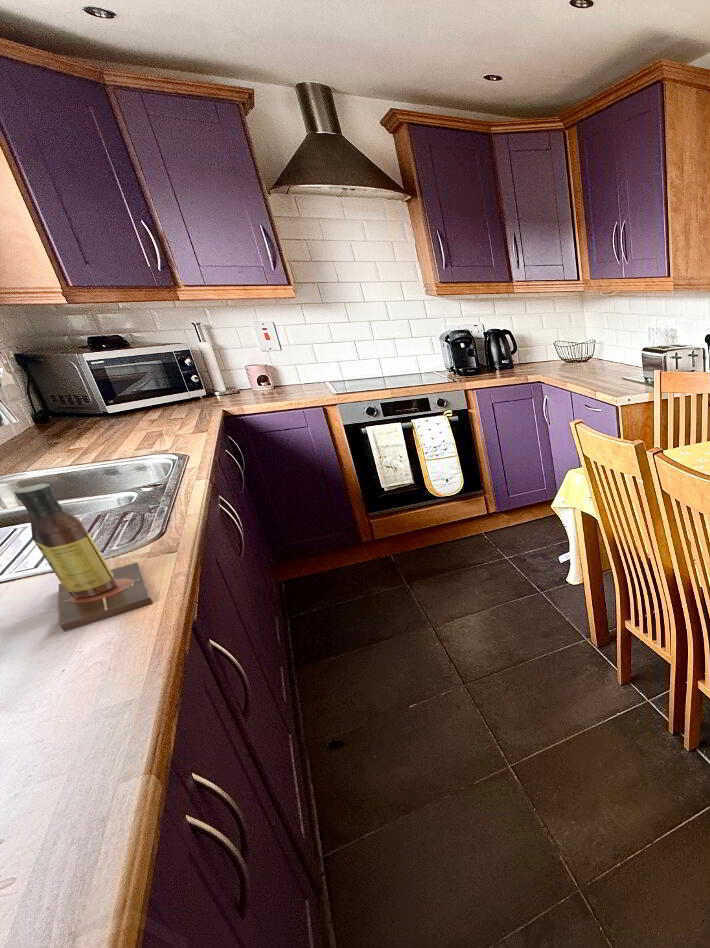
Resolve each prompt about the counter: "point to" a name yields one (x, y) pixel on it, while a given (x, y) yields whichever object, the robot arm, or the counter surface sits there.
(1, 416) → the robot arm
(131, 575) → the board
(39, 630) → the counter surface
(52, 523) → the sauce bottle
